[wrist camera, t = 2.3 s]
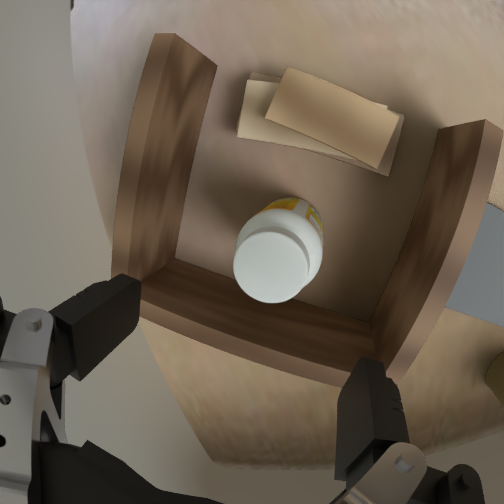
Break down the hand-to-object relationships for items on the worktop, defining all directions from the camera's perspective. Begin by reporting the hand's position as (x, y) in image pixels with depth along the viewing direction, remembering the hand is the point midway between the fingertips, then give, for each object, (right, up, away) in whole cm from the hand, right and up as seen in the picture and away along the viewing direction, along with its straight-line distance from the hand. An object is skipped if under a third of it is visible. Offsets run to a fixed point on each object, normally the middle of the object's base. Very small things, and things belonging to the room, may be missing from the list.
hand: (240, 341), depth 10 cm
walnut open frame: (+4, +8, +14) cm, 16 cm away
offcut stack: (+6, +13, +11) cm, 18 cm away
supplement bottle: (+4, +5, +15) cm, 16 cm away
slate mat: (+23, +1, +11) cm, 26 cm away
